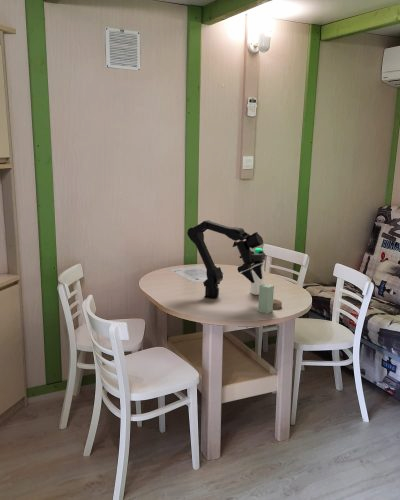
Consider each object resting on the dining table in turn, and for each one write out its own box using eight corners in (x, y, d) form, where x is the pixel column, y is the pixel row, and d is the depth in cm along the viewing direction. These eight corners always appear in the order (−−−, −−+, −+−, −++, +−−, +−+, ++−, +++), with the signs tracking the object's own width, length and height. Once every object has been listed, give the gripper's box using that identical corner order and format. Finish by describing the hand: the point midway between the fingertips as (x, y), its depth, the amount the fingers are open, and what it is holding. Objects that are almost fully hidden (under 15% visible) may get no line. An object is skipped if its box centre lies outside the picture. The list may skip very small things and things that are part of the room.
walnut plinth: (264, 308, 235) (264, 303, 234) (266, 303, 242) (266, 298, 242) (280, 309, 233) (281, 305, 232) (282, 304, 240) (282, 300, 240)
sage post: (258, 311, 230) (259, 285, 227) (263, 308, 234) (265, 283, 231) (266, 313, 227) (268, 287, 224) (272, 311, 231) (273, 285, 228)
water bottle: (261, 291, 262) (264, 247, 257) (264, 295, 256) (266, 250, 250) (249, 291, 262) (251, 247, 257) (251, 295, 255) (253, 249, 250)
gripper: (250, 249, 224) (263, 279, 223) (266, 243, 240) (278, 271, 239) (231, 257, 230) (244, 287, 229) (248, 251, 246) (260, 278, 245)
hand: (257, 280), depth 235 cm, fingers open, 9 cm apart
